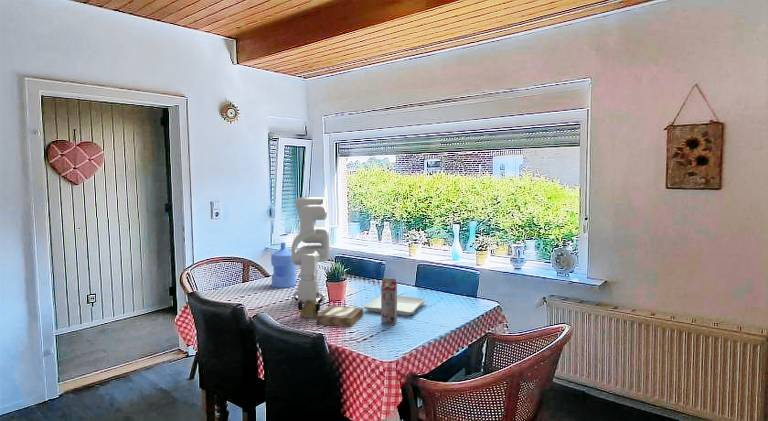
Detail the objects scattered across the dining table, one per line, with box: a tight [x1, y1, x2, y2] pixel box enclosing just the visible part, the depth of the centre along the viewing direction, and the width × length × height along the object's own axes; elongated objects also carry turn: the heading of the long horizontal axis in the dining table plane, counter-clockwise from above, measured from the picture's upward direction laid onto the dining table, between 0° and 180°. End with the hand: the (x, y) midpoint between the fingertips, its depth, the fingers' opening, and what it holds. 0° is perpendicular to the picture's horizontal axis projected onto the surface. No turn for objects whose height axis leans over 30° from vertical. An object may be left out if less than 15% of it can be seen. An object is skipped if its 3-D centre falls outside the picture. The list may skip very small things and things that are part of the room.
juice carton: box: [380, 277, 398, 326], centre depth 235 cm, size 7×7×22 cm
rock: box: [299, 300, 320, 320], centre depth 245 cm, size 11×9×10 cm
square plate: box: [363, 295, 427, 316], centre depth 261 cm, size 27×27×4 cm
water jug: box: [270, 242, 297, 289], centre depth 313 cm, size 16×16×28 cm
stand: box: [315, 305, 364, 327], centre depth 241 cm, size 18×18×4 cm
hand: (309, 310), depth 245 cm, fingers closed on rock, 9 cm apart
